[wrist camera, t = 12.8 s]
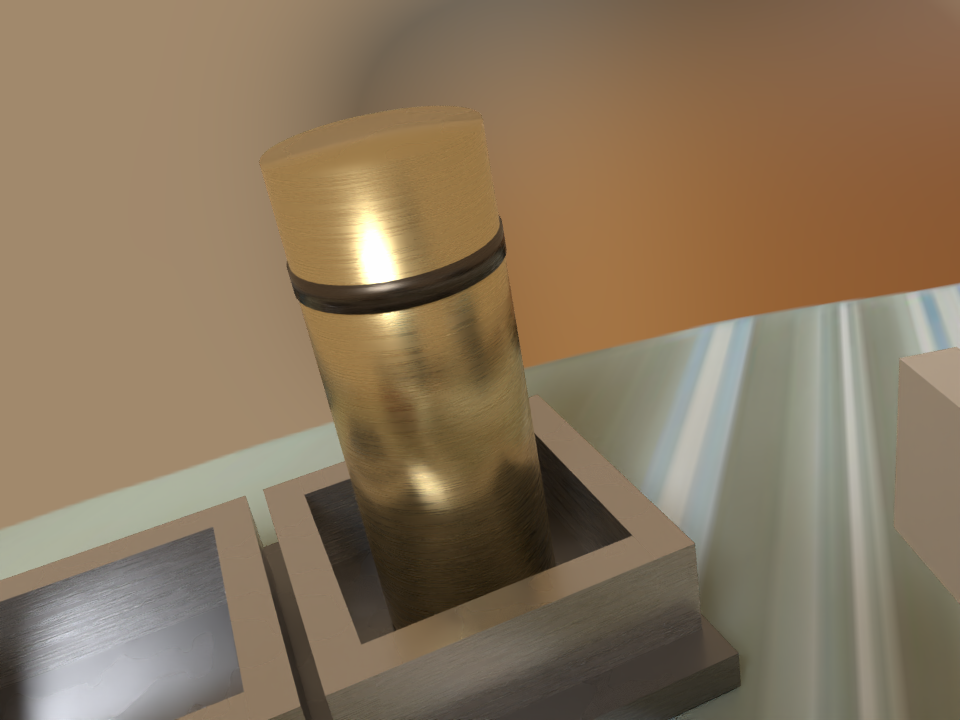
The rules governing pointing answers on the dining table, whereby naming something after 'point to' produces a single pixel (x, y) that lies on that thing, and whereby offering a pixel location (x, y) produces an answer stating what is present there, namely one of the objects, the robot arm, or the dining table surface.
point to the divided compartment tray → (367, 617)
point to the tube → (417, 348)
